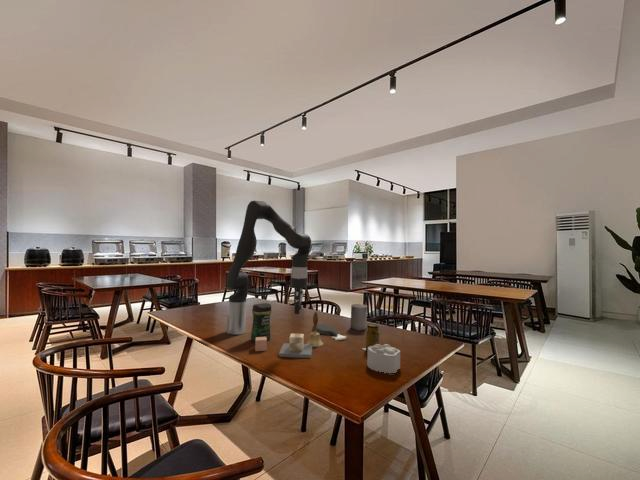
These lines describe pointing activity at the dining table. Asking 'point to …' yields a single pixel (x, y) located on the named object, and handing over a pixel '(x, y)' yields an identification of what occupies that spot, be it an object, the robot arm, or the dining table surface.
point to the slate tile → (297, 354)
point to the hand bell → (315, 333)
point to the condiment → (371, 336)
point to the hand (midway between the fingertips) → (297, 311)
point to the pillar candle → (358, 316)
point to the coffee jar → (261, 321)
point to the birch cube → (296, 342)
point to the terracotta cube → (260, 344)
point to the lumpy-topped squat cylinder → (383, 358)
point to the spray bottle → (329, 331)
